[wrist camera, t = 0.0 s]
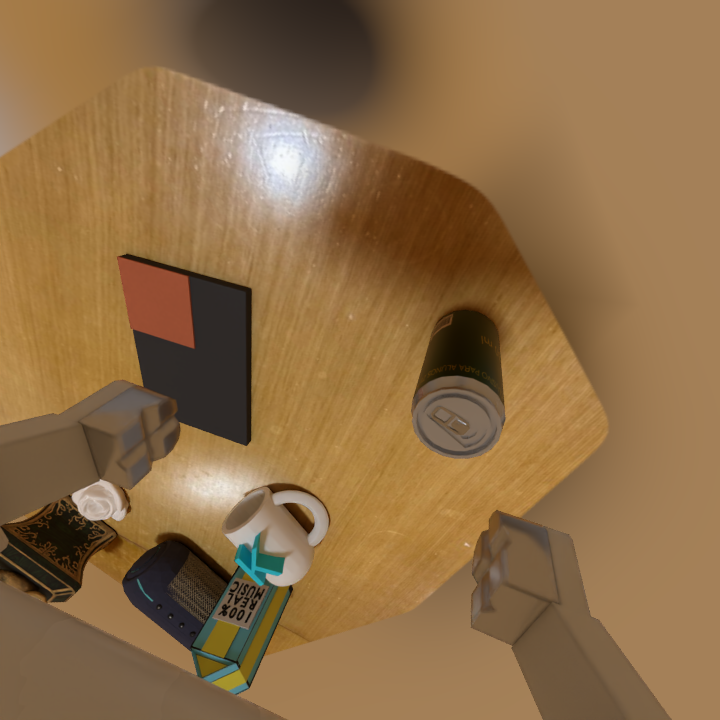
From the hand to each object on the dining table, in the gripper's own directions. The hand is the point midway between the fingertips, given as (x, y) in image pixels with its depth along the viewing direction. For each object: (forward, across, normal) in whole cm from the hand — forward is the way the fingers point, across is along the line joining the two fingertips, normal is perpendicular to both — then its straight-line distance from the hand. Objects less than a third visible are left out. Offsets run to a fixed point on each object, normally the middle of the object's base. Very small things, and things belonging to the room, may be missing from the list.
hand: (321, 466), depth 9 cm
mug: (+23, +9, +38) cm, 45 cm away
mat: (+23, +23, +17) cm, 37 cm away
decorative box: (+23, +50, +64) cm, 84 cm away
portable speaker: (+23, +23, +64) cm, 72 cm away
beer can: (+23, -4, +6) cm, 24 cm away
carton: (+23, +13, +55) cm, 61 cm away
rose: (+23, +43, +51) cm, 70 cm away
